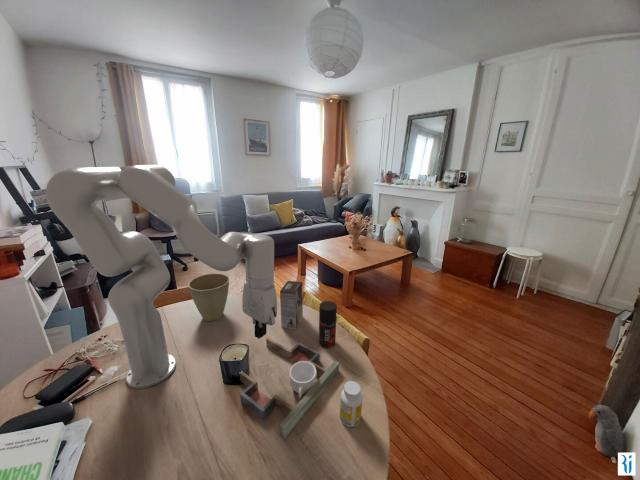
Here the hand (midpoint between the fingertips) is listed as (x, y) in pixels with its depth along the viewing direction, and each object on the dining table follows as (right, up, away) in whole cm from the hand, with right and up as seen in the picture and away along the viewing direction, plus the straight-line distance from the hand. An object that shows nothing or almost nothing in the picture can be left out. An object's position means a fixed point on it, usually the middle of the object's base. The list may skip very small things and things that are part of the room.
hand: (260, 335), depth 76 cm
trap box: (+6, -13, 0) cm, 14 cm away
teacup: (+13, -14, -4) cm, 19 cm away
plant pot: (-26, -3, +30) cm, 40 cm away
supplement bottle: (+25, -17, -11) cm, 32 cm away
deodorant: (+20, -8, +15) cm, 27 cm away
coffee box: (+7, -5, +27) cm, 28 cm away
